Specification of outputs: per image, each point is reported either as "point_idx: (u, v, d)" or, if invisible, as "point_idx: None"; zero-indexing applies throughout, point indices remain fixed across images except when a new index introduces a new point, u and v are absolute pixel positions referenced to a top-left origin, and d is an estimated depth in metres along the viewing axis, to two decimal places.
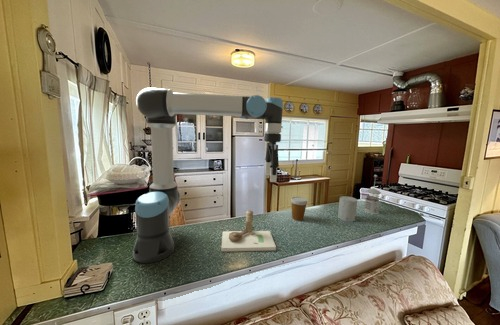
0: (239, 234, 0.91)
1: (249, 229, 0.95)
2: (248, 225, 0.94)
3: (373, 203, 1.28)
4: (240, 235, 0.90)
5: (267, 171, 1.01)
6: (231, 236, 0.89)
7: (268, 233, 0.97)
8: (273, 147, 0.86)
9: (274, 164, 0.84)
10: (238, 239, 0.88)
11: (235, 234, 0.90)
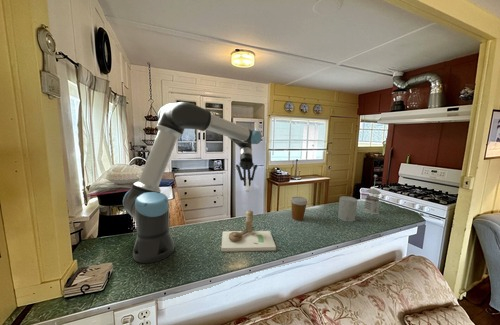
0: (239, 234, 0.91)
1: (249, 229, 0.95)
2: (248, 225, 0.94)
3: (373, 203, 1.28)
4: (240, 235, 0.90)
5: None
6: (231, 236, 0.89)
7: (268, 233, 0.97)
8: (236, 168, 1.19)
9: None
10: (238, 239, 0.88)
11: (235, 234, 0.90)
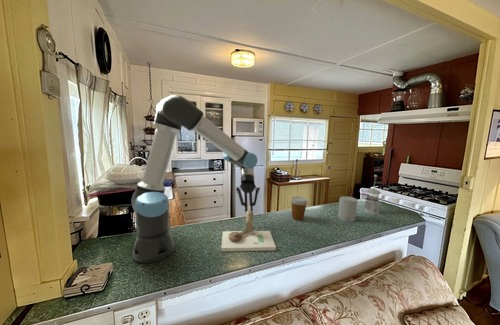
0: (239, 234, 0.91)
1: (249, 229, 0.95)
2: (248, 225, 0.94)
3: (373, 203, 1.28)
4: (240, 235, 0.90)
5: None
6: (231, 236, 0.89)
7: (268, 233, 0.97)
8: (237, 191, 1.07)
9: None
10: (238, 239, 0.88)
11: (235, 234, 0.90)
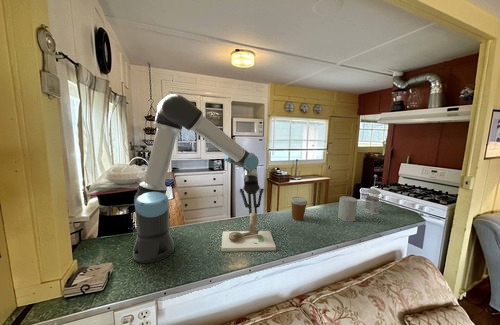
0: (239, 235, 0.90)
1: (252, 232, 0.92)
2: (251, 228, 0.92)
3: (373, 203, 1.28)
4: (240, 236, 0.89)
5: None
6: (230, 235, 0.90)
7: (268, 233, 0.97)
8: None
9: None
10: (236, 239, 0.88)
11: (235, 234, 0.90)
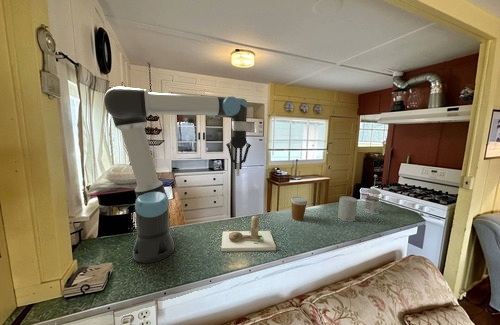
0: (239, 236, 0.90)
1: (252, 236, 0.89)
2: (251, 231, 0.89)
3: (373, 203, 1.28)
4: (238, 237, 0.89)
5: None
6: (231, 234, 0.91)
7: (268, 233, 0.97)
8: None
9: None
10: (233, 239, 0.88)
11: (234, 234, 0.90)
